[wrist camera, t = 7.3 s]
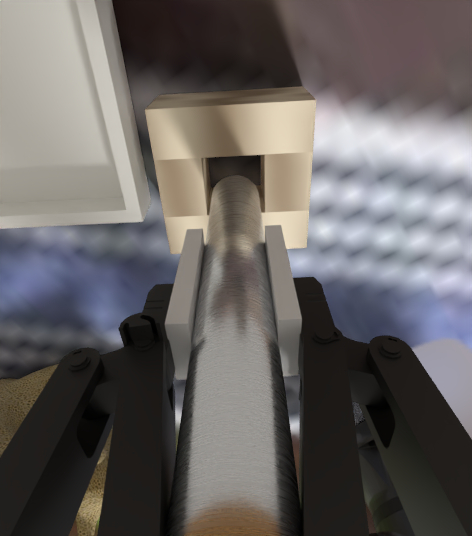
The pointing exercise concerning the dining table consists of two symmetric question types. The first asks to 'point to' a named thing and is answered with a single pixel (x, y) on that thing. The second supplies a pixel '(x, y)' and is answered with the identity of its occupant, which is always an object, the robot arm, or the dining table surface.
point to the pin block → (233, 154)
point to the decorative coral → (12, 415)
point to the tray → (66, 118)
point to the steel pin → (234, 389)
